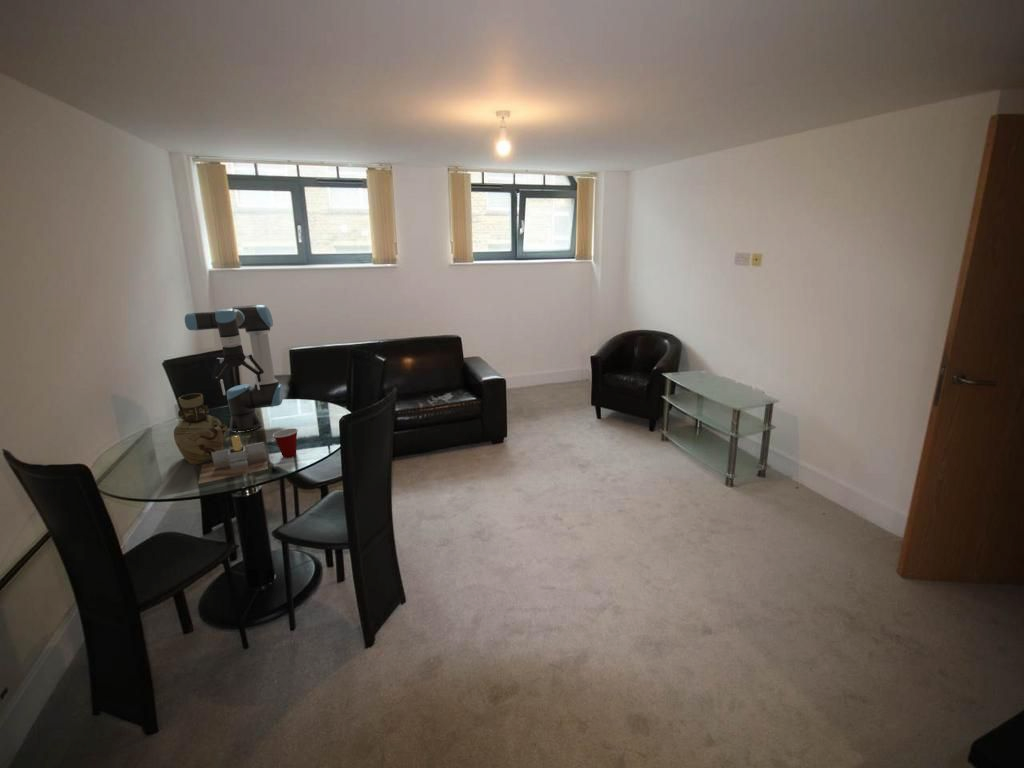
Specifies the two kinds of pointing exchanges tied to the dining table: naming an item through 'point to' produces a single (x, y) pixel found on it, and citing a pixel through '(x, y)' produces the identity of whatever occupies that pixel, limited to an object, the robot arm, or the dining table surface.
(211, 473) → the board
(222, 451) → the flanged square frame
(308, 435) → the dining table surface
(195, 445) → the ceramic vessel
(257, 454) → the fixed leaf
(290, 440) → the plastic cup
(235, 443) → the pin
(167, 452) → the dining table surface
